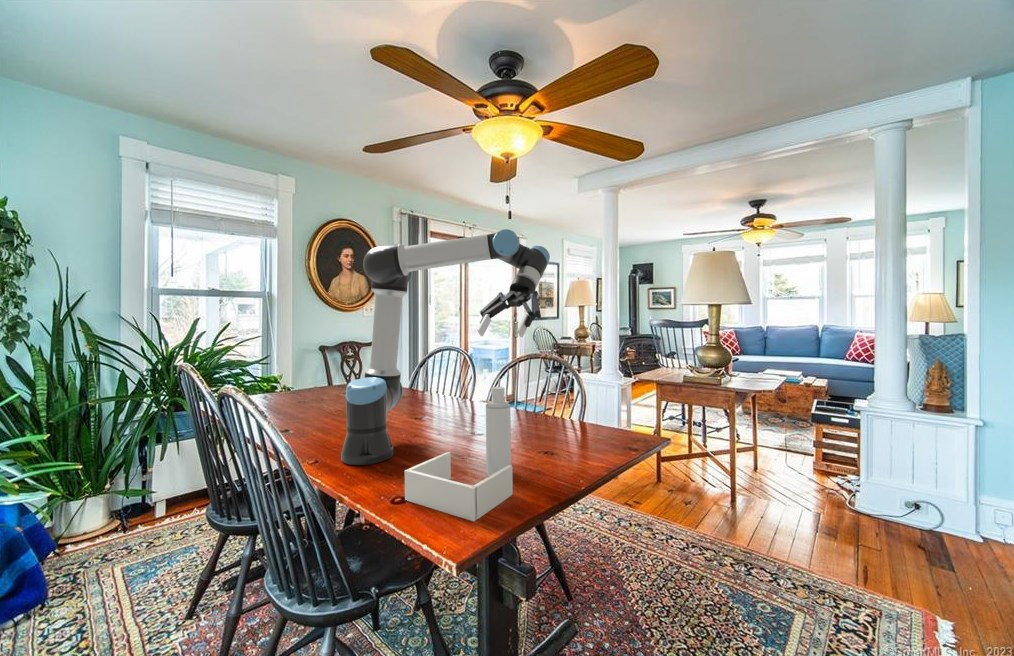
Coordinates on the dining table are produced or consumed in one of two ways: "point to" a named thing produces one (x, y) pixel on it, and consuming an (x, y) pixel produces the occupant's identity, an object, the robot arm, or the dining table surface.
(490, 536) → the dining table surface
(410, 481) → the storage bay
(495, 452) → the white bottle
